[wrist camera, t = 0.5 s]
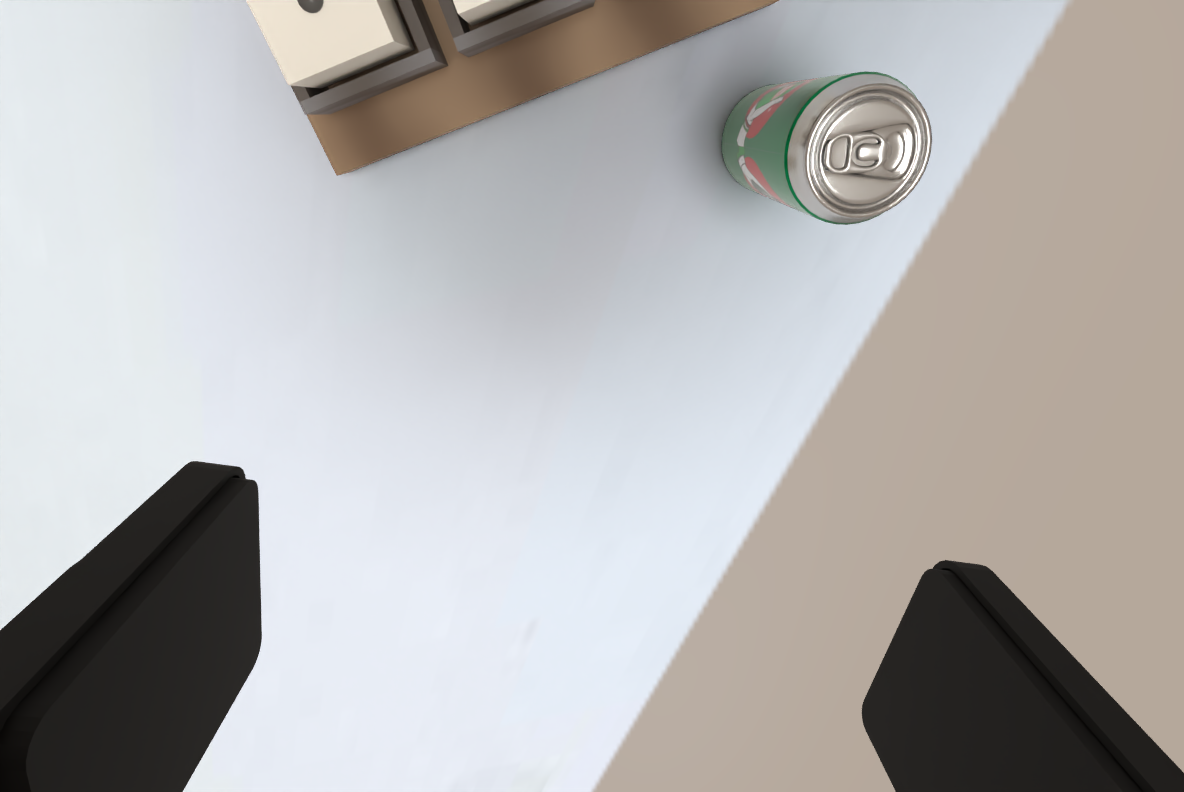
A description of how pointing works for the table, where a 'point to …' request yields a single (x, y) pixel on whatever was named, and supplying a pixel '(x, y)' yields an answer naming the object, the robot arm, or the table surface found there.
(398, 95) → the button panel
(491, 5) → the three dot button
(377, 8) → the one dot button
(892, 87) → the soda can
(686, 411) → the table surface
